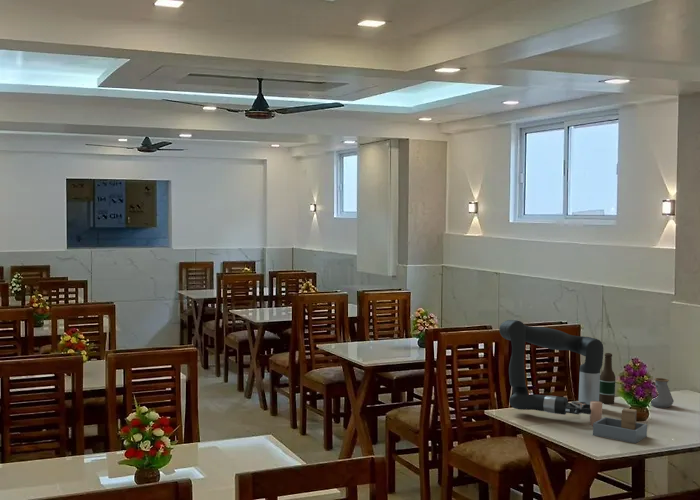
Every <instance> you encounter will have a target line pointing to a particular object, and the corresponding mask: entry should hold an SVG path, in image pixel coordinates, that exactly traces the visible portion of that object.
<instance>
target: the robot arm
mask: <svg viewBox="0 0 700 500" xmlns="http://www.w3.org/2000/svg"><path fill="white" fill-rule="evenodd" d="M498 329H499V330H498V331H499V334H500V336H501V337H502V338H503V339H504V340H506V341H507V340H508V341H510V342H511V356H510V360H509V365H508V377H509V379H508V381H509V385H510V386H511V388H512V395H510V397H509V400H508V401H509V404H510V406H511V408H513V409H516V410H520V411H523V410H525V411H526V410H527V411H533V410H534V411H539V412H546V413H550V414H556V415H564V416H565V415H566V414H573V415H581V414H585V415H590V414H591V409H590V401H599V390H600V375H601V368H602V366H603V364H604V363H603V362H604V361H603V360H604V344H603V342H602V341H601V340H600V339H598V338H593V337H590V336H582V335H581V336H580V335H572V334H569V333H568V332H567V333H566V332H565V331H562V330H560V329H559V330H558V329H555V328H549V327H542V326H529V325H525V323H523V321H521V320H518V319H508V320H504V321H503V322H502V323H500V325H499V328H498ZM526 343H527V344H532V345H534V346H538V347H541V348H545V349H549V350H553V351H569V352H573V353H576V354H579V355H581V356H584V357H585V359H584V363H582V364H580V365H579V381H578V382H579V383H578V401H576V400H572V401H571V402H569V400H568V398H567V397H565V396H558V395H557V396H556V395H546V394H545V395H544V394H532V395H531V394H530V395H529V393H528V392H529V391H528V386H527V384H526V374H525V373H526V371H525V352H526V351H525V348H526Z"/></svg>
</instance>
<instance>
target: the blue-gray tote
mask: <svg viewBox="0 0 700 500" xmlns="http://www.w3.org/2000/svg"><path fill="white" fill-rule="evenodd" d="M647 432H648V424H646V423H642V422H641V423H640V422H636V430H631V429H625V428H621V419H618V418H611V417H606V416H604V417H602V419H600V420H598V421H596V422H595V423H593V426H592V436H594V437H601V438H604V439H605V438H606V439H611V440H616V441H621V442H626V443H630V444H637V443H639V442H640V441H641V440H644V439H646V437H647V436H648V435H647V434H648V433H647Z"/></svg>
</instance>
